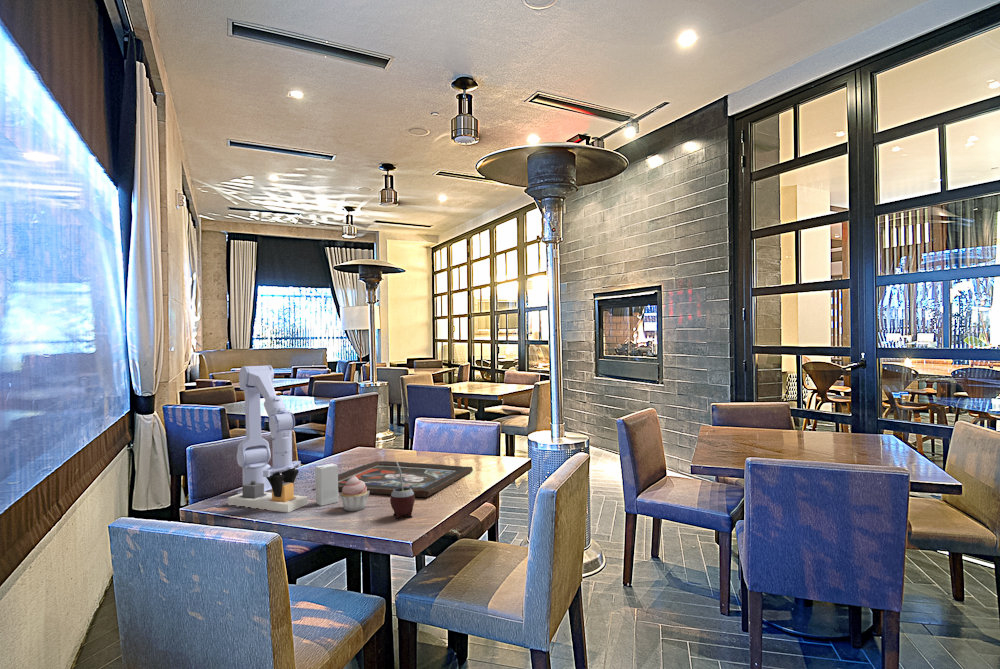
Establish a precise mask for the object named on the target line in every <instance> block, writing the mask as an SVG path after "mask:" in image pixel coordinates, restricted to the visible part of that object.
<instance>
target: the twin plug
mask: <svg viewBox="0 0 1000 669" xmlns="http://www.w3.org/2000/svg"><path fill="white" fill-rule="evenodd" d="M241 488H242V489H241V491H243V498H251V499H255V498H258V497H260V496H263V495H264V483H256V481H251V483H248V484H245V485H243V484H242V487H241Z"/></svg>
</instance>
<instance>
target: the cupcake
mask: <svg viewBox="0 0 1000 669" xmlns="http://www.w3.org/2000/svg"><path fill="white" fill-rule="evenodd" d="M369 495H370V493H369V491H367V487H366V485H365V483H364V482H363V481H361V480H359V479H358V478H357V477H355V476H353V477H352V478H350V479H349V480H348V481H347V482H346V485H345V486H344V487H343V489H342V491H341V492H340V493H339V492H338V497H339V498H340V499H341V502H342V505H343V506H342V507H343V509H344V510H345V511H347V512H359V511H361V510H364V509H365V507H366V505H367V501H368V498H369Z"/></svg>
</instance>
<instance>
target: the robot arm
mask: <svg viewBox="0 0 1000 669" xmlns="http://www.w3.org/2000/svg"><path fill="white" fill-rule="evenodd" d="M274 377H275V371H274V368H273V366H272V365H270V364H267V365H247V366H246V365H242V366H241V367H240V369H239V372H238V381H239V382H238V383H239V384H238V386H239V390H242V391H244V406H245V407H244V410H245V411H244V412H245V413H244V414H245V438H244V439H243V440H242V441H241V442H240V443H239V444H237V452H236V463H237V465H238V467H240V468H242V485H245V484H248V483H251V481H256V483H264V492H268V491H272V490H273V493H274V496H275V497H281V494H282V483H283V482H291V483H295V479H296V478H297V476H298V474H299V469H298V468H301V467H302V466H301V465H302V463H301V462H302V461H301V460H294V461H293V442H292V440H293V438H292V437H293V435H292V433H293V432H292V431H293V430H294V429H295V426H296V419H295V416H294V413H293V412H291V411H290V410H288V409H287V408H286V406H285V403H284V401H283V398H282V397H281V396H279V395H277V393H276V391H275V387H274V384H273V381H274ZM261 395H262V397H263V399H264V401H263V407H264V409H265V411H266V414H267V416H268V419H269V420H268V421H269V422H268V428H269V431H270V438H272V439H271V440H272V441H271V442H272V443H271V444H272V445H271V446H272V466H271V465H270V464H269V462H270V460H271V449H270V443H269V442H270V441H268V440H266V438H264V437H262V419H261V418H262V417H261V416H262V414H261V413H262V412H261ZM240 493H243V491H242V490H239V491H236V494H240Z"/></svg>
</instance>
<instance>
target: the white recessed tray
mask: <svg viewBox="0 0 1000 669" xmlns="http://www.w3.org/2000/svg"><path fill="white" fill-rule="evenodd" d="M227 505H228V506H231V505H236V506H235V507H239V506H245V507H244V508H248V507H251V508H250V509H256V508H259V509H258V510H264V509H267V511H274V512H282V513H290V512H292V511H295V510H297V509H300V508H302V507H304V506H307V505H309V496H305V495H297V494H296V495H295V494H294V499H291V500H289V501H287V502H277V501H272V492H268V491H265V492H264V495H263V496H260V497H258V498H255V499H251V498H243V493H240V494H238V493H236V494H235V495H232V496H228V497H227Z"/></svg>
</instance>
